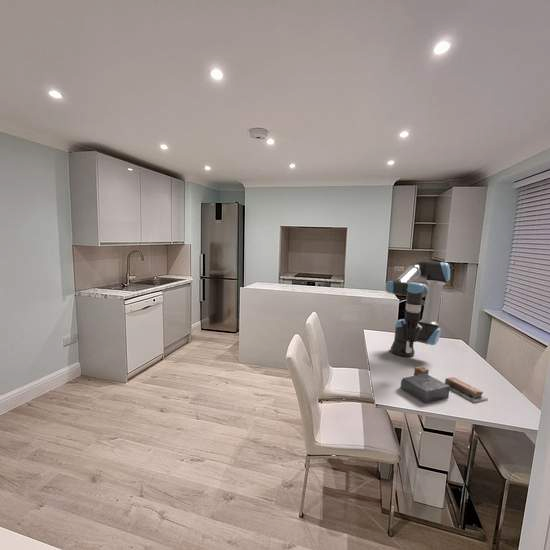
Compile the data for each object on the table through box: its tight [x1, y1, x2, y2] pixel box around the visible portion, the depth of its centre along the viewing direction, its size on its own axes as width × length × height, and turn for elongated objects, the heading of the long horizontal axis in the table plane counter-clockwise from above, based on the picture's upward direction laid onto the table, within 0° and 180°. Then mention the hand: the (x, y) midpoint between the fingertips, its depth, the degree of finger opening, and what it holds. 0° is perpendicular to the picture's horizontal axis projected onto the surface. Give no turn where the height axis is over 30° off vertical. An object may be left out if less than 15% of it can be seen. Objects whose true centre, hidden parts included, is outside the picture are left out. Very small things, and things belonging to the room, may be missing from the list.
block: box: [413, 365, 429, 376], centre depth 167 cm, size 5×5×5 cm
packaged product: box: [444, 377, 489, 404], centre depth 152 cm, size 18×5×10 cm
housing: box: [401, 374, 451, 404], centre depth 149 cm, size 14×16×6 cm
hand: (408, 352), depth 165 cm, fingers closed
